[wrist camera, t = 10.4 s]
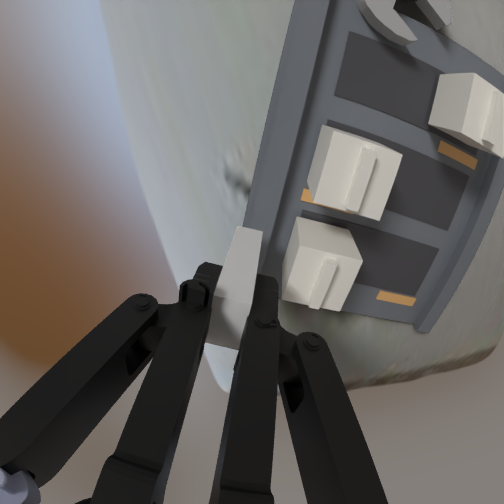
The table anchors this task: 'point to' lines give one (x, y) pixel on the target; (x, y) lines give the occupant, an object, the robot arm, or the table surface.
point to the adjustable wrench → (391, 24)
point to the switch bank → (388, 134)
